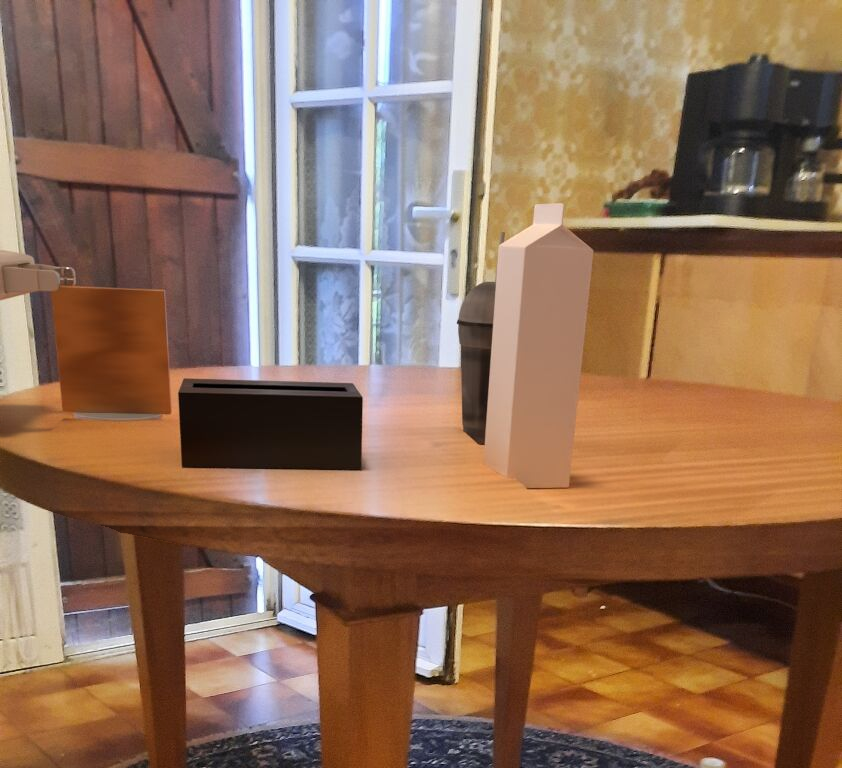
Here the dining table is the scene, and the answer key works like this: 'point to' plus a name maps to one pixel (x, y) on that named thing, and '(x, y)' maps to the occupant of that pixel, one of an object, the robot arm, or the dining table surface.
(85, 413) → the plate
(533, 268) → the milk
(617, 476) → the dining table surface
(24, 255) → the robot arm
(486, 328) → the beverage cup
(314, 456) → the toaster
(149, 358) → the toast
